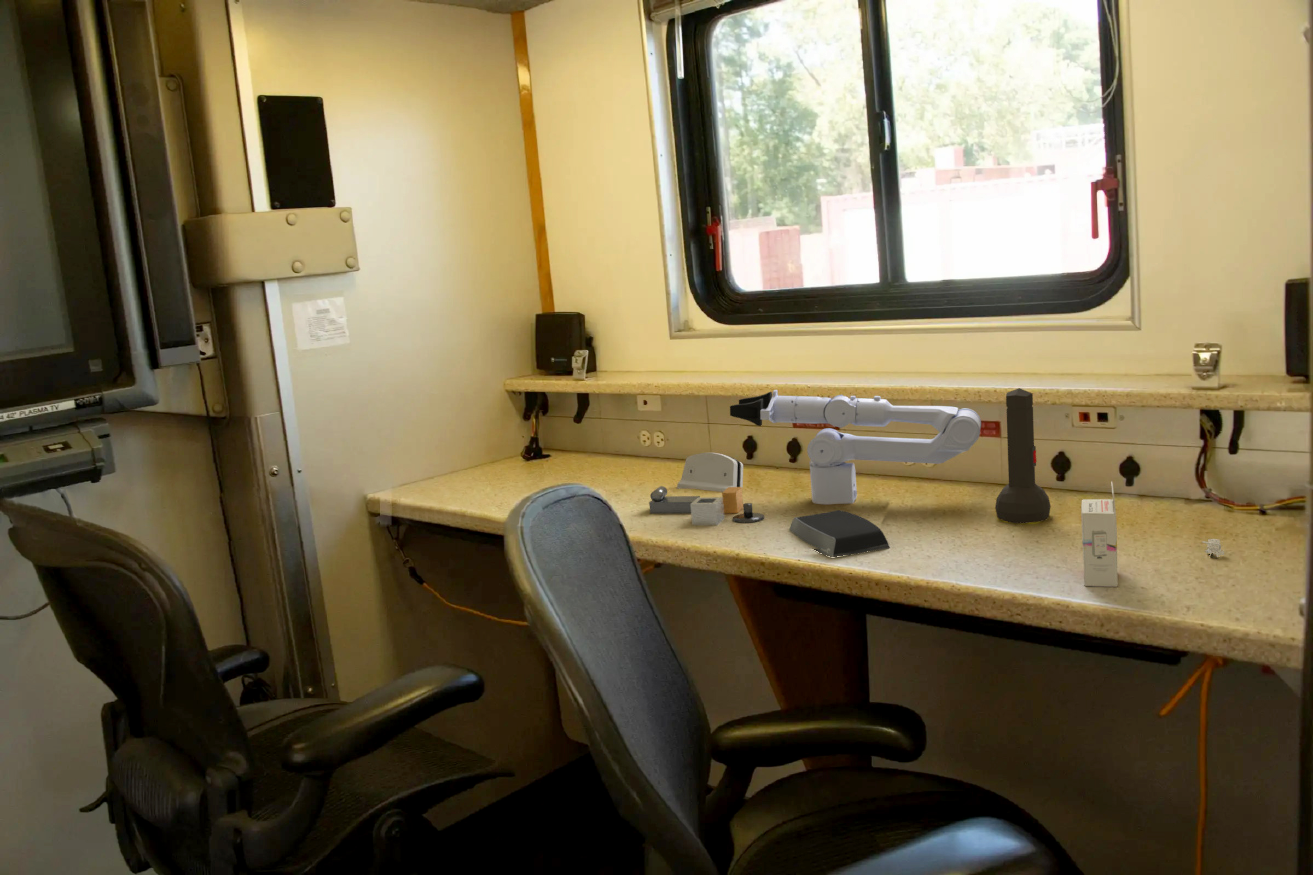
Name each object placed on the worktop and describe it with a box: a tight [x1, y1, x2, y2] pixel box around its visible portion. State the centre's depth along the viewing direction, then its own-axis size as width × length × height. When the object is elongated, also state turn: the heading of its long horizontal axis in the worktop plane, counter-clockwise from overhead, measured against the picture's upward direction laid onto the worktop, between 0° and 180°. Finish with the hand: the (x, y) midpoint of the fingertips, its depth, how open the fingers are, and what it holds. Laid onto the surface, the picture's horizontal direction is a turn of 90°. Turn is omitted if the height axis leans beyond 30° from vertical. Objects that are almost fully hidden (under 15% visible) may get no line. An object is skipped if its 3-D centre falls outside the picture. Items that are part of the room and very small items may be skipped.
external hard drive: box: [788, 510, 891, 557], centre depth 194 cm, size 13×19×4 cm
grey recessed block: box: [690, 496, 726, 526], centre depth 212 cm, size 5×5×4 cm
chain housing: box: [648, 485, 701, 515], centre depth 224 cm, size 10×5×5 cm, turn 71°
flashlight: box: [994, 387, 1052, 524], centre depth 196 cm, size 10×25×10 cm
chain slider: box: [721, 487, 744, 514], centre depth 222 cm, size 18×5×4 cm, turn 71°
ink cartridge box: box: [1080, 480, 1119, 588], centre depth 160 cm, size 9×5×15 cm, turn 158°
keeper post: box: [732, 502, 765, 524], centre depth 212 cm, size 6×6×3 cm
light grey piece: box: [676, 452, 744, 493], centre depth 244 cm, size 17×5×10 cm, turn 47°
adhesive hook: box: [1201, 538, 1225, 558], centre depth 166 cm, size 3×3×3 cm
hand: (734, 407), depth 224 cm, fingers open, 7 cm apart
